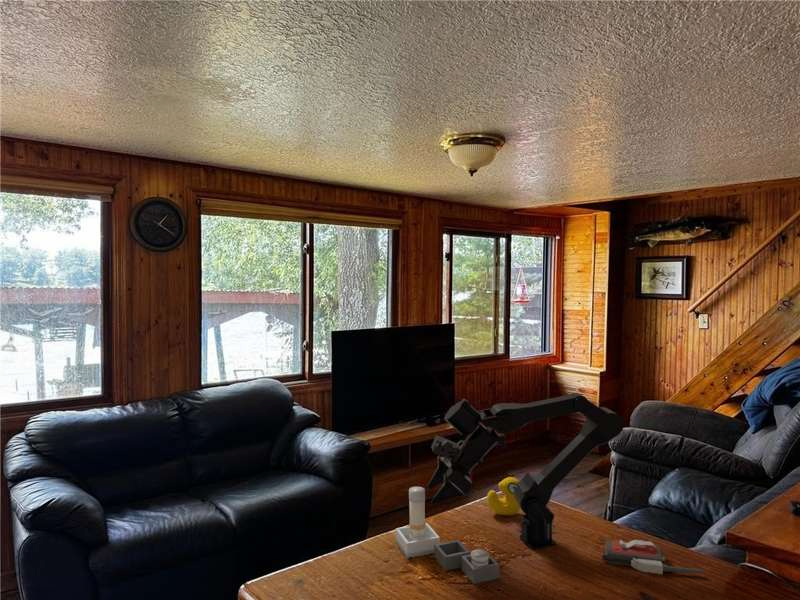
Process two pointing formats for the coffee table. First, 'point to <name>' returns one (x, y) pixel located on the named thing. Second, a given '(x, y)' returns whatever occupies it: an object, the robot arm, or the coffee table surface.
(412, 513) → the white bulb-shaped piece
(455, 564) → the grey square frame
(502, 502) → the duckling
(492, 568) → the grey boxy piece
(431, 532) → the tray
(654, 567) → the toy chainsaw
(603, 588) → the coffee table surface
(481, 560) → the white dome piece
